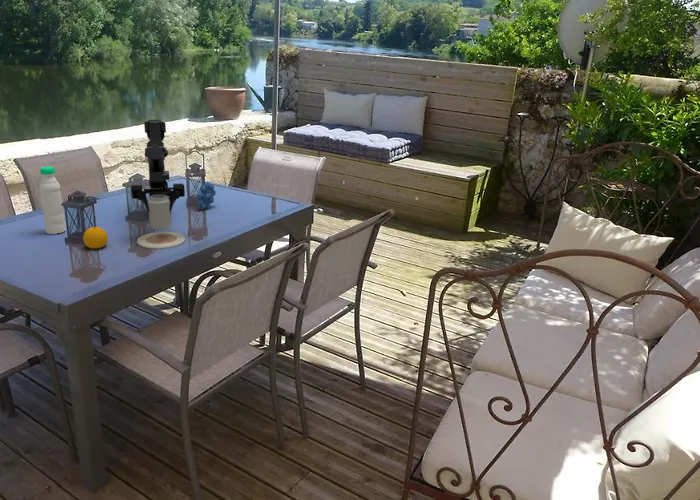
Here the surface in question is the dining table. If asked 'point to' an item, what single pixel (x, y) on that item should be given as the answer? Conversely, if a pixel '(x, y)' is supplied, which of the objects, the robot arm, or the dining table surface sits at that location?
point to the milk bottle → (51, 202)
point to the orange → (95, 237)
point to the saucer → (161, 240)
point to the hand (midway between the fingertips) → (159, 211)
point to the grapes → (205, 196)
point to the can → (159, 212)
